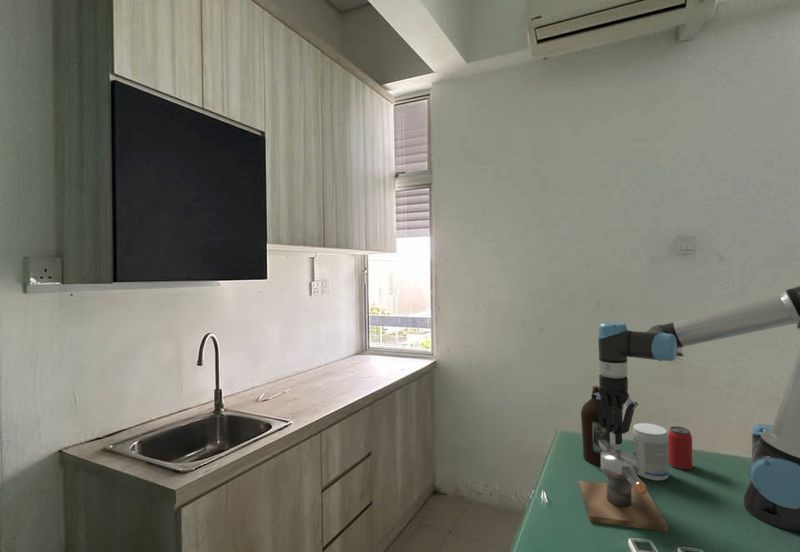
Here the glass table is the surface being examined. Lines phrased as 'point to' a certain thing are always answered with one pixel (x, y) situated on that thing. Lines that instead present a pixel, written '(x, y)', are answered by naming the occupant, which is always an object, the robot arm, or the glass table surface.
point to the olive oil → (592, 431)
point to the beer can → (680, 447)
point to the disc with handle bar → (621, 466)
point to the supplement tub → (651, 451)
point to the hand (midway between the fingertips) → (614, 453)
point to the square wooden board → (620, 505)
